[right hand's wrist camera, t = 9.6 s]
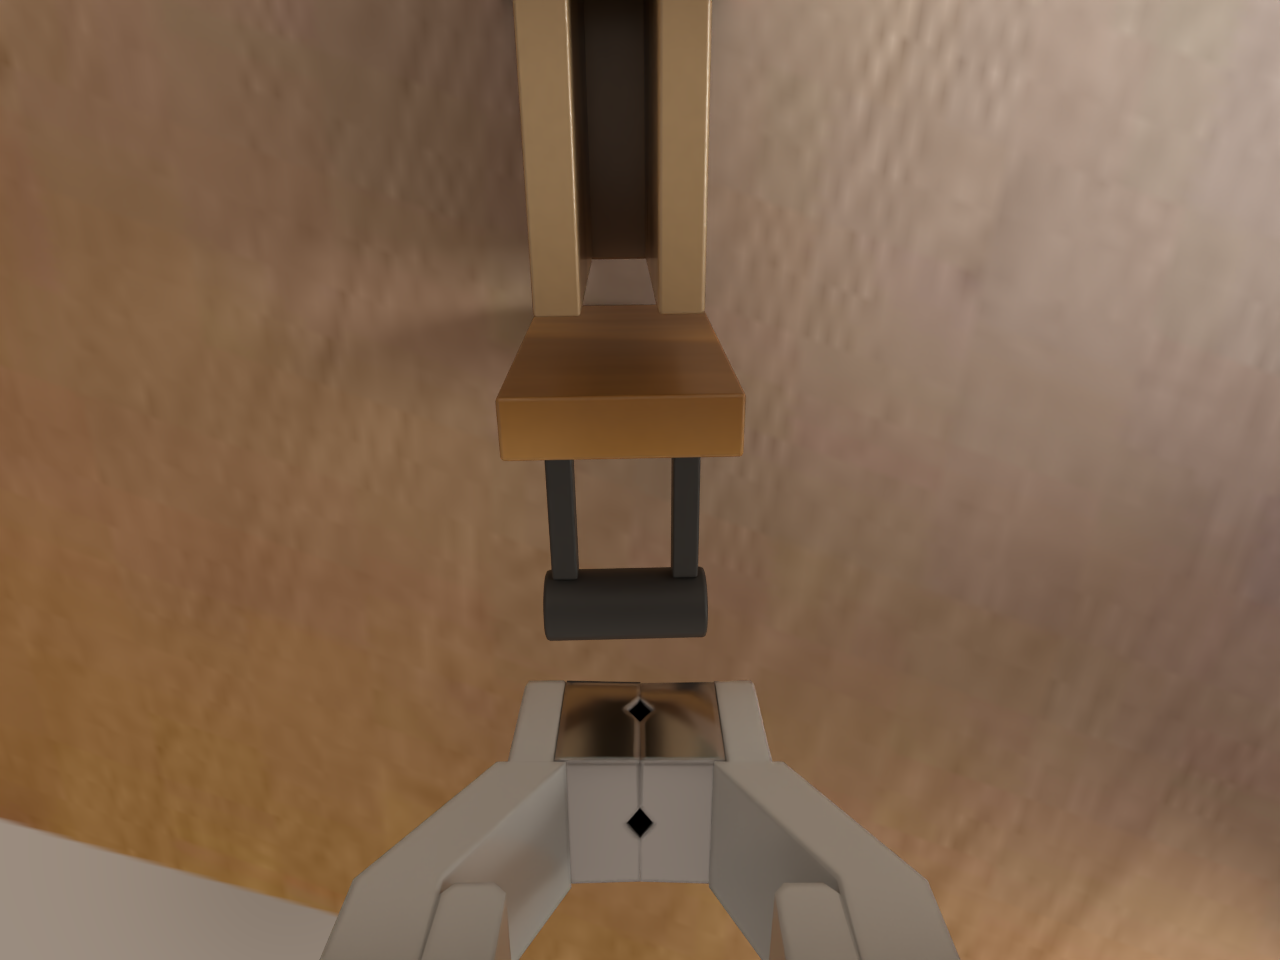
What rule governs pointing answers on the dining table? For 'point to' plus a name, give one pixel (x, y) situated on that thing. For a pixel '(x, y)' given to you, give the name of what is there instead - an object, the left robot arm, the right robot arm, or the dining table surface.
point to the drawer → (618, 334)
